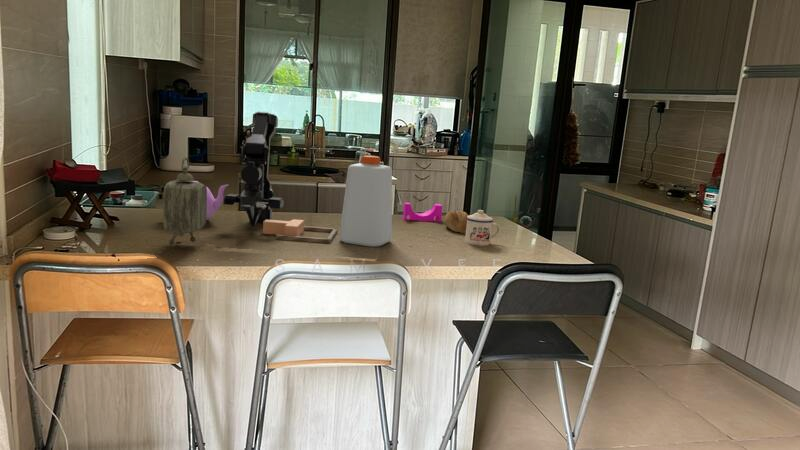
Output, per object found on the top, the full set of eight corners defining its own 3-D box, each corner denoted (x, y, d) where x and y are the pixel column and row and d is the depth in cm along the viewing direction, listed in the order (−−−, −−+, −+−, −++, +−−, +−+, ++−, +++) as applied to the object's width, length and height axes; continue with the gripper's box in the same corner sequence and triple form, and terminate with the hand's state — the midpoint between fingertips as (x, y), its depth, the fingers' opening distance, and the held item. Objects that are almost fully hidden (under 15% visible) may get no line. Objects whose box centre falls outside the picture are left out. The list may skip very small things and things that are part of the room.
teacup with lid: (467, 245, 203) (470, 211, 200) (461, 239, 212) (464, 207, 209) (501, 247, 204) (505, 213, 202) (494, 241, 213) (498, 209, 211)
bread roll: (450, 235, 219) (452, 213, 217) (438, 227, 233) (440, 206, 232) (475, 235, 221) (477, 214, 220) (462, 227, 236) (464, 207, 234)
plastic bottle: (377, 248, 188) (384, 159, 183) (334, 242, 193) (339, 155, 188) (395, 240, 202) (401, 157, 197) (354, 234, 207) (359, 153, 202)
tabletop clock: (176, 235, 185) (177, 154, 180) (207, 237, 186) (208, 156, 181) (163, 246, 171) (163, 158, 166) (195, 248, 172) (196, 160, 167)
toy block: (437, 221, 247) (439, 203, 245) (440, 224, 241) (442, 205, 239) (401, 219, 244) (403, 201, 243) (404, 222, 238) (405, 203, 237)
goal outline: (275, 239, 191) (276, 235, 190) (288, 228, 209) (288, 224, 209) (329, 243, 190) (329, 239, 190) (337, 232, 208) (337, 228, 208)
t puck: (259, 235, 194) (260, 223, 193) (268, 228, 206) (269, 217, 205) (296, 238, 194) (297, 226, 193) (303, 231, 206) (304, 220, 205)
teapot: (232, 218, 220) (233, 180, 217) (223, 226, 205) (224, 186, 202) (170, 214, 218) (170, 176, 215) (157, 222, 202) (157, 181, 200)
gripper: (218, 180, 189) (217, 229, 192) (277, 185, 189) (275, 233, 191) (229, 177, 200) (228, 222, 203) (284, 181, 200) (283, 227, 202)
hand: (253, 226), depth 200 cm, fingers closed
